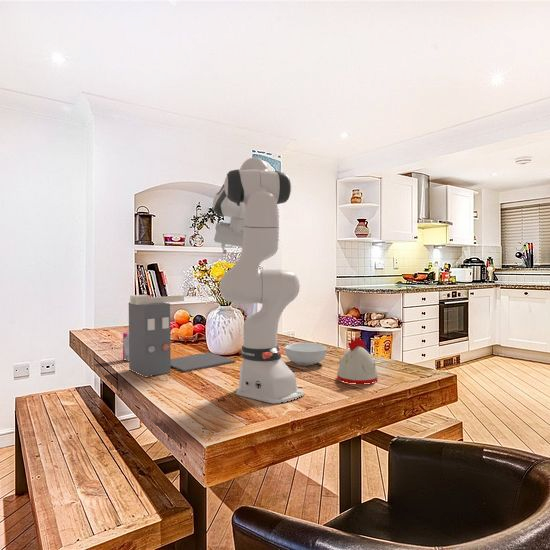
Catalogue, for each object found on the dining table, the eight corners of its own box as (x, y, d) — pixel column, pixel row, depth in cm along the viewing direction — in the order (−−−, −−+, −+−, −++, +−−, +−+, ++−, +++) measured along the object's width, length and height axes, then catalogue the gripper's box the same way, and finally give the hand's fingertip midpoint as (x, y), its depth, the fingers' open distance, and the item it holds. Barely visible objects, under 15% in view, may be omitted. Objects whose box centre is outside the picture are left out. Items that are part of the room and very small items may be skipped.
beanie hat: (329, 378, 149) (329, 336, 149) (355, 372, 158) (356, 332, 157) (358, 387, 138) (358, 342, 138) (385, 380, 146) (385, 338, 146)
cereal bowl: (276, 363, 170) (276, 346, 170) (302, 357, 183) (302, 341, 182) (309, 371, 159) (309, 352, 159) (334, 363, 171) (334, 346, 171)
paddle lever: (186, 301, 165) (185, 293, 165) (137, 304, 151) (137, 296, 151) (178, 300, 169) (178, 292, 169) (130, 303, 156) (130, 295, 156)
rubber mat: (235, 362, 173) (235, 360, 173) (184, 372, 157) (184, 370, 157) (209, 354, 188) (209, 352, 188) (159, 362, 172) (159, 360, 172)
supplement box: (142, 359, 178) (141, 332, 177) (129, 362, 173) (128, 334, 173) (135, 357, 182) (135, 331, 181) (122, 359, 177) (122, 333, 177)
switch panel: (171, 373, 156) (171, 303, 155) (146, 378, 149) (145, 305, 148) (153, 365, 167) (153, 300, 166) (129, 370, 160) (128, 302, 159)
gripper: (215, 221, 182) (210, 252, 184) (261, 229, 183) (256, 260, 185) (217, 220, 188) (212, 250, 190) (262, 228, 189) (256, 258, 191)
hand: (234, 255), depth 188 cm, fingers open, 8 cm apart
